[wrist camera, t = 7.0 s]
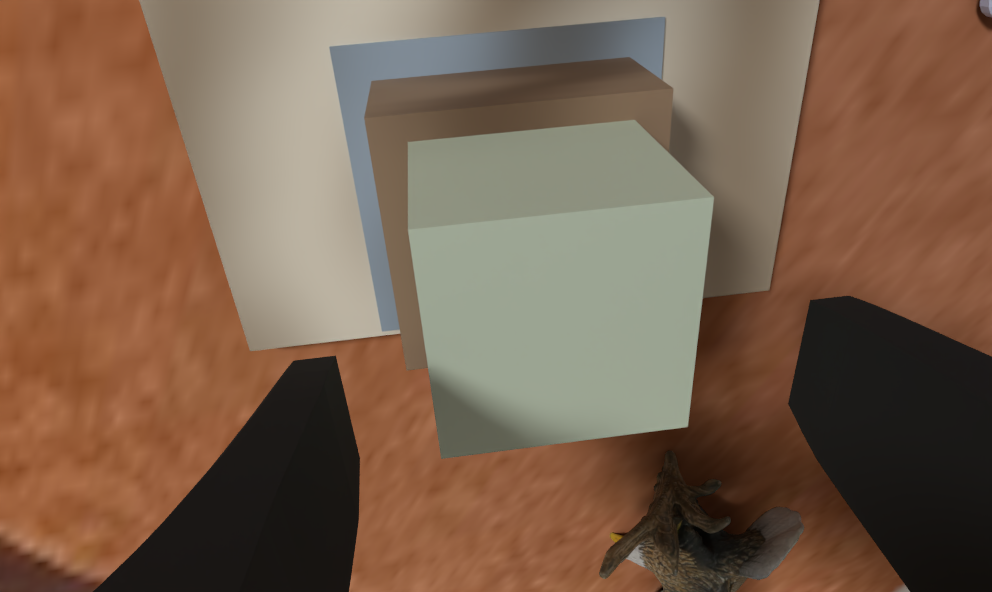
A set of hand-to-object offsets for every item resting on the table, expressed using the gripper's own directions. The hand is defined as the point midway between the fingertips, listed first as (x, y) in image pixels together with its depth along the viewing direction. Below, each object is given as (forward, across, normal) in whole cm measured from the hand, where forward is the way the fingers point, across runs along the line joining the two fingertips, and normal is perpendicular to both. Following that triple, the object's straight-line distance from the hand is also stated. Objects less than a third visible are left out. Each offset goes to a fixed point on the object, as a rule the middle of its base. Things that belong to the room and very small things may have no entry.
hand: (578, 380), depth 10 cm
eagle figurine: (+9, -5, +15) cm, 18 cm away
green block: (+5, 0, 0) cm, 5 cm away
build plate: (+9, 0, -2) cm, 9 cm away
